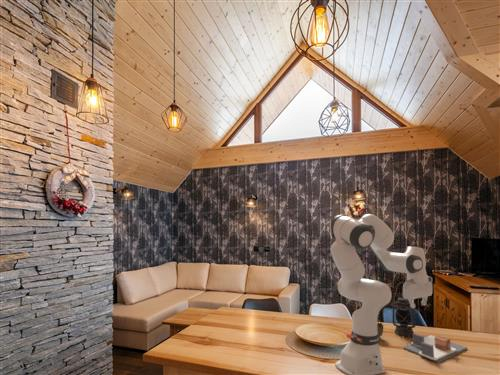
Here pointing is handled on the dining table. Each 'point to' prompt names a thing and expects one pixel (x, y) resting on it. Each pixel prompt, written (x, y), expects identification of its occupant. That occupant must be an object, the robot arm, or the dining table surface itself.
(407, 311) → the lantern
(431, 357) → the white strip
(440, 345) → the rust block
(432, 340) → the grey strip
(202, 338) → the dining table surface
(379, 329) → the dark ornate pot
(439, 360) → the slate board
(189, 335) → the dining table surface
